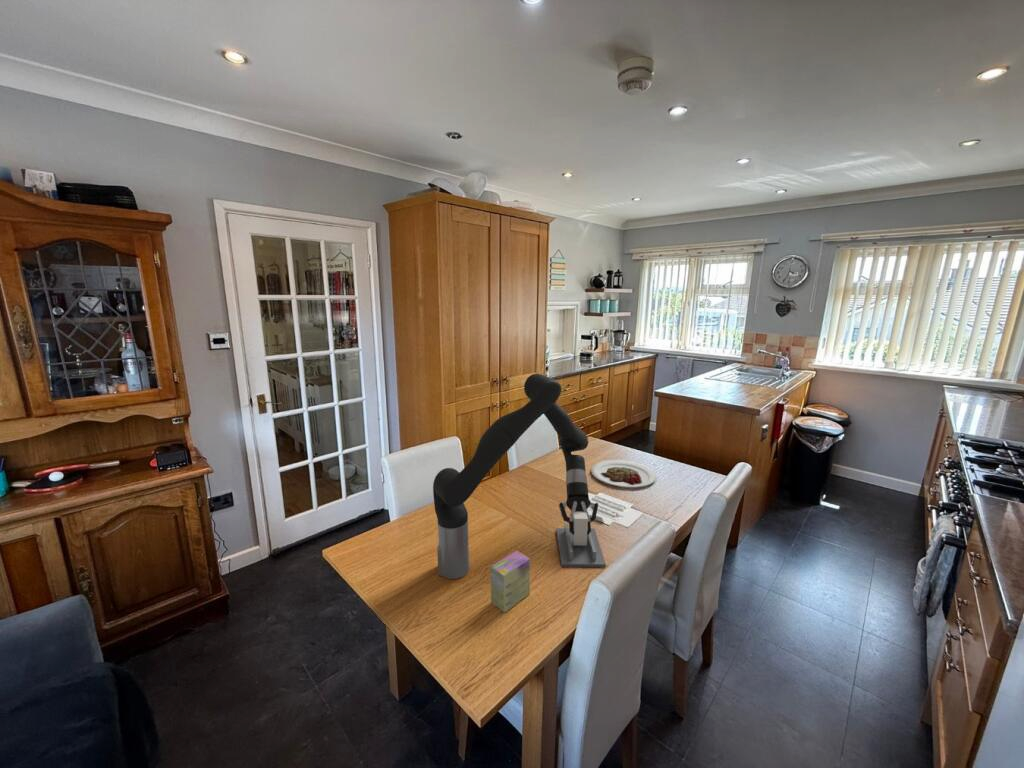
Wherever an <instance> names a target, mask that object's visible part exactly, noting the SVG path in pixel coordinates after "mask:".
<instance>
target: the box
mask: <svg viewBox="0 0 1024 768" xmlns="http://www.w3.org/2000/svg"><path fill="white" fill-rule="evenodd" d="M530 559H531V558H530V557H528V556H526V555H525V554H523V553H521V552H520V551H518V550H515V551H513V552H511V553H509V554H508V555H507V556H505V557H503V558H502V559H500V560H498V561H497V562H495V563H494V564H492V565H490V595H491V596H490V603H491V604H492V605H493V606H495V607H496V608H498V609H499V610H500V611H501V612H503V613H506V612H507V611H509V610H510V609H512V608H513V607H515V605H517V604H518V603H519V602H521V601H522V600H524V599H525V598H526V597H528V596H530V593H531V592H530V591H531V590H530V589H531V587H530V586H531V581H530V580H531V578H530V577H531V575H530V571H531V565H530V563H531V561H530Z"/></svg>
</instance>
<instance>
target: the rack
mask: <svg viewBox="0 0 1024 768" xmlns="http://www.w3.org/2000/svg"><path fill="white" fill-rule="evenodd" d="M555 530H556V537H557V544H558V545H557V546H558V550H559V557H560V564H561V565H560V566H561V567H562V568H563V567H564V568H565V567H567V568H576V567H577V568H606V566H607V565H606V564H607V563H606V561H605V557H604V555H603V551H602V549H601V545H600V542H599V538H598V535H597V532H596V530H595V528H591V532H590V533H589V535H587V545H573V541H572V533H570V531H569V524H568V523H564V528H562V527H559V528H558V527H557V528H555Z"/></svg>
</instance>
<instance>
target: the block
mask: <svg viewBox="0 0 1024 768" xmlns="http://www.w3.org/2000/svg"><path fill="white" fill-rule="evenodd" d="M573 524H574V535H572V541H573V545H587V530H588V517H587V514H586V513H584V512H578V511H575V513H573Z"/></svg>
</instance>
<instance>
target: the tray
mask: <svg viewBox="0 0 1024 768" xmlns="http://www.w3.org/2000/svg"><path fill="white" fill-rule="evenodd" d="M588 496H589V500H590V502H592V503H598V509H597V514H596V519H595V520H596V521H598V522H601V523H602V524H606V525H608V526H611V524H613V523H615V524H617V525H619V526H622V527H624V528H627V529H628V528H629V527H630V526H631V525H632V524H634V523H636V521H637V520H638V519H640V517H641V516H642V515H644V512H641V511H639V510H636V509H634V508H632V507H633V506H634V504H633V503H631V502H627V501H625V500H621V499H619V498H617V497H614V496H611V495H608V494H606V493H603V492H599V493H597V494H594V493H590V492H588ZM587 511H588V514H589V517H590V518H591V517H592V512H593V510H592V509H591V506H589V507H588V509H587ZM617 516H618V517H617Z"/></svg>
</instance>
